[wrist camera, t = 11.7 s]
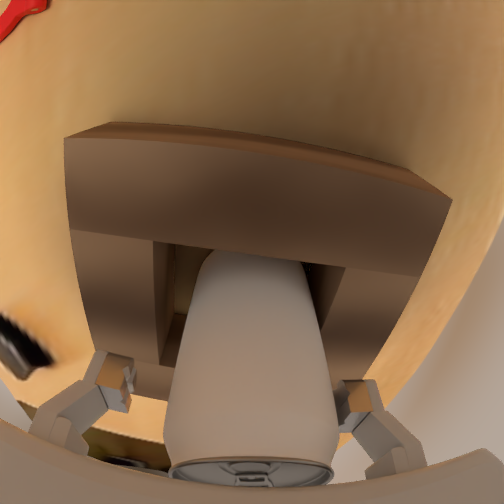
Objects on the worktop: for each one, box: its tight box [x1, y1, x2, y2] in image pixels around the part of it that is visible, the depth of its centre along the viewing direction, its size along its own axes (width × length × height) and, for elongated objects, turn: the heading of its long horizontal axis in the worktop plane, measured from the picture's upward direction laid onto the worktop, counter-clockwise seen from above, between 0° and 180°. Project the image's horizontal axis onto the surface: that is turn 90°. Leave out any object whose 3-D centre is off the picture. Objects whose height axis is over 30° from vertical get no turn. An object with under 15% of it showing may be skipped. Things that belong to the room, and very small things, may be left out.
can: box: [163, 249, 339, 487], centre depth 13 cm, size 6×6×12 cm
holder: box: [64, 122, 452, 401], centre depth 16 cm, size 16×16×4 cm
